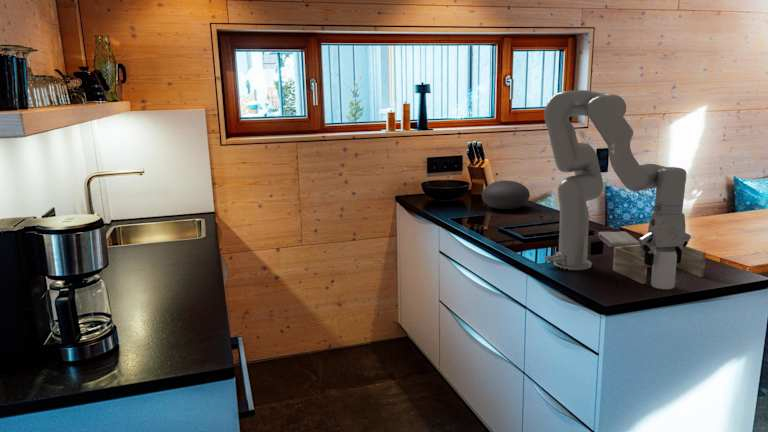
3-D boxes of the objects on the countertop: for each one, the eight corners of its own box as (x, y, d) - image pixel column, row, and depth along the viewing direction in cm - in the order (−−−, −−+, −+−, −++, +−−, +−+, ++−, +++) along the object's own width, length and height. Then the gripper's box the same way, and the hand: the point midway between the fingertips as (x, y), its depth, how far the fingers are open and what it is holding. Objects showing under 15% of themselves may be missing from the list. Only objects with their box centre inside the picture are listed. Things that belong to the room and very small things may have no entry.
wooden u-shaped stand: (642, 284, 173) (644, 259, 172) (612, 269, 188) (613, 247, 186) (703, 276, 178) (705, 252, 176) (670, 263, 193) (671, 241, 191)
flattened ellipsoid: (473, 211, 289) (473, 183, 286) (493, 202, 309) (493, 176, 306) (518, 215, 275) (519, 185, 272) (536, 206, 295) (537, 178, 292)
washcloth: (625, 236, 231) (625, 229, 230) (641, 248, 214) (642, 240, 213) (595, 237, 232) (596, 230, 231) (610, 248, 214) (610, 241, 214)
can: (677, 290, 167) (680, 252, 164) (654, 289, 168) (656, 251, 166) (670, 283, 173) (673, 246, 171) (648, 282, 174) (651, 246, 172)
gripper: (651, 213, 160) (645, 269, 164) (702, 209, 164) (695, 264, 168) (634, 208, 167) (629, 262, 171) (683, 204, 171) (677, 257, 175)
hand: (662, 263), depth 170 cm, fingers open, 9 cm apart
